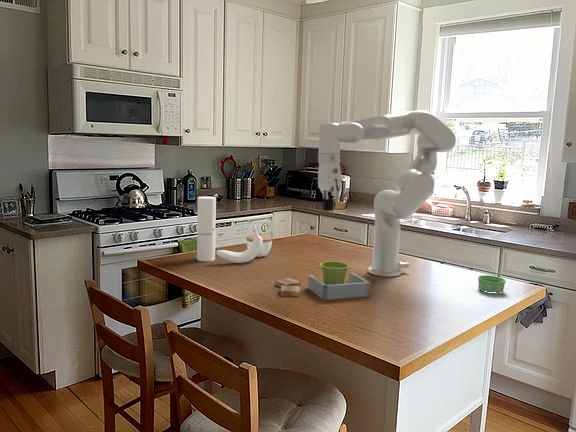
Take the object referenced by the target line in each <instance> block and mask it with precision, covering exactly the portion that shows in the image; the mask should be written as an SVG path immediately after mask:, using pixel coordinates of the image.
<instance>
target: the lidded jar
mask: <svg viewBox="0 0 576 432" xmlns="http://www.w3.org/2000/svg"><path fill="white" fill-rule="evenodd" d="M257 233H258V234H259V235H260V236H261V238H262V241H263V243H262V248H261V250H260V252H259V253H258V255H257V256H256V257H258V258H261V257H262V256H264V257H266V256H267V255H268V254H269V252H270V251H271V249H272V244H273V237H272V236H271V235H266V234H261V232H257ZM253 239H254V234H251V235H250V234H249V235H247V236H246V247H247V249H248V248H249V247H250V246H251V244H252V242H253ZM256 257H255V258H256Z"/></svg>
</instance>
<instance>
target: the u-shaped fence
mask: <svg viewBox="0 0 576 432" xmlns="http://www.w3.org/2000/svg"><path fill="white" fill-rule="evenodd" d="M307 279H308V280H307V289H309V290H310V291H311V292H312V293H313V294H316V296H318V297H319V298H320V299H322V300H323V301H326V300H327V301H329V300H342V299H353V298H366V297H367V298H368V297H371V292H372V291H371V289H372V282H370V281H368V280H366V279H365V278H364V277H361V276H360V275H359V274H357V273H354V272H353V271H352V272H351V271H350V272H349V276H348V283H344V284H331V285H326V284H324V281H323V280H320V279H319V278H317V277H316V276H314V275H313V274H308V278H307Z"/></svg>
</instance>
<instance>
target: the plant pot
mask: <svg viewBox="0 0 576 432" xmlns="http://www.w3.org/2000/svg"><path fill="white" fill-rule="evenodd" d="M320 267H321V271H322V278H323V280H322V282H323V283H324V284H326V285H331V284H345V278H346V274H347V271H348V268H349V267H350V266H349V264H348V263H346V262H342V261H336V260H335V261H333V260H330V261H324V262H320Z"/></svg>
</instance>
